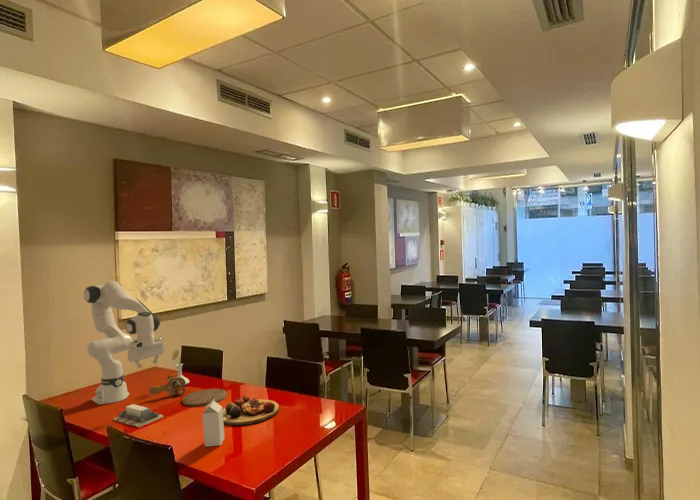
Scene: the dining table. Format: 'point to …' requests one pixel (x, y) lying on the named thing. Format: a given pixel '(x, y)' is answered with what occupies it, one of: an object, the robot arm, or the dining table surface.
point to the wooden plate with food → (248, 411)
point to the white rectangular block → (137, 411)
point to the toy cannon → (170, 386)
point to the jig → (137, 419)
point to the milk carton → (213, 424)
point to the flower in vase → (179, 366)
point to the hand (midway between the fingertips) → (147, 365)
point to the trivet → (204, 397)
